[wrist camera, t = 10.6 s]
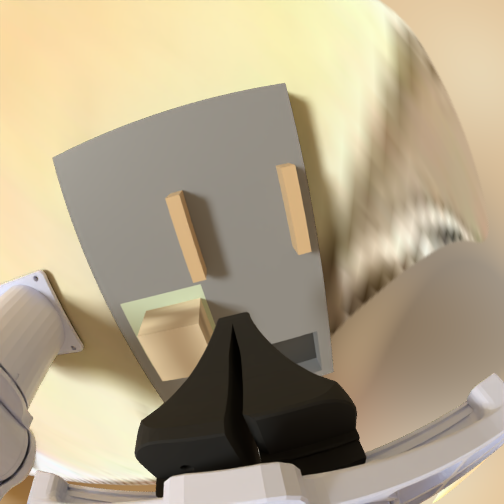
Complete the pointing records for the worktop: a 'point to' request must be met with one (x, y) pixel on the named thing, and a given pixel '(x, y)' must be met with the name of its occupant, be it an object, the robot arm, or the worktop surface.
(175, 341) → the birch block
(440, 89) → the worktop surface
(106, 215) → the board
